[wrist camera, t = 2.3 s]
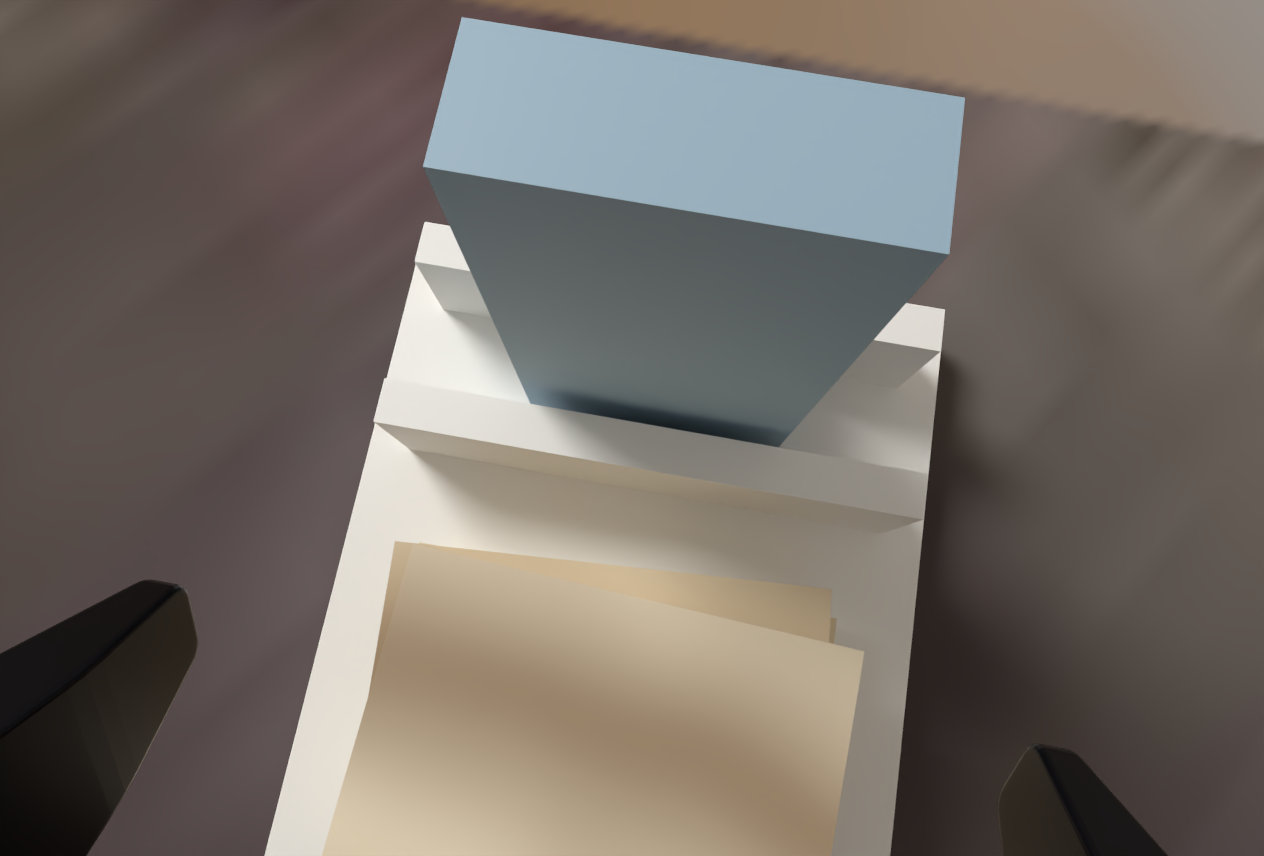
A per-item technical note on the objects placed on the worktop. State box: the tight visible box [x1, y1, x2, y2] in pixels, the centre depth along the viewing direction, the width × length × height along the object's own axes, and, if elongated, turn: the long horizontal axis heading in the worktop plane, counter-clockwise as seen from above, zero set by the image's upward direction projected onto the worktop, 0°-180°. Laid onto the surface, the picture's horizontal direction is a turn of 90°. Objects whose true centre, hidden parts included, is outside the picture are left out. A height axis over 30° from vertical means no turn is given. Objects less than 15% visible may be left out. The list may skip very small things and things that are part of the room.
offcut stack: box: [322, 541, 864, 856], centre depth 17 cm, size 7×10×4 cm
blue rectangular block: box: [423, 17, 965, 447], centre depth 15 cm, size 2×6×12 cm, turn 80°
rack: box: [265, 222, 945, 856], centre depth 19 cm, size 16×14×4 cm
